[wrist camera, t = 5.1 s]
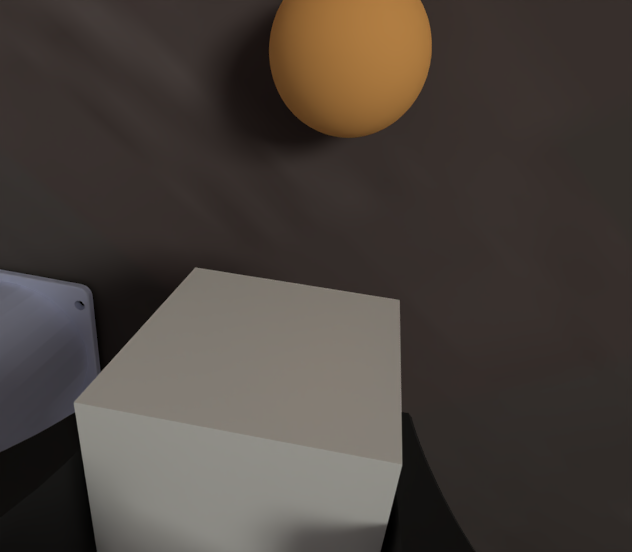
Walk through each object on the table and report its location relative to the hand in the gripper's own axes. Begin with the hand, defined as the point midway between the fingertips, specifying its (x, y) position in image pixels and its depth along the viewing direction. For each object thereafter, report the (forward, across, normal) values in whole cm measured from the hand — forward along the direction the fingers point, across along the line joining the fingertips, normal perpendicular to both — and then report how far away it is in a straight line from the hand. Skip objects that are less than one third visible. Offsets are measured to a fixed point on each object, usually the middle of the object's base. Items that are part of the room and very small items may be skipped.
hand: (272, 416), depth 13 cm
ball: (+6, 0, -9) cm, 11 cm away
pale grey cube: (+2, 0, 0) cm, 2 cm away
